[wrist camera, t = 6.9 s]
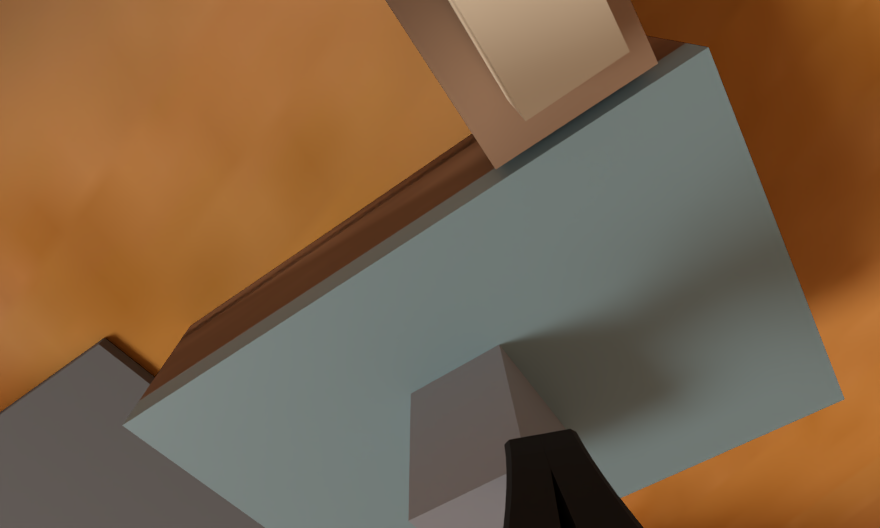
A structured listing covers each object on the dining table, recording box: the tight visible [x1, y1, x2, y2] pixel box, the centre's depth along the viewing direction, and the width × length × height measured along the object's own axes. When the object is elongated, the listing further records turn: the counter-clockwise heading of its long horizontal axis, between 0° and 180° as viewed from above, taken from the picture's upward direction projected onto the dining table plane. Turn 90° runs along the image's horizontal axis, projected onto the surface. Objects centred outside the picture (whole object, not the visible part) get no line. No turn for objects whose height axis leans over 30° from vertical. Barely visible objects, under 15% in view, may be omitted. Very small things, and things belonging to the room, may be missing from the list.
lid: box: [122, 43, 844, 528], centre depth 14 cm, size 12×18×5 cm, turn 124°
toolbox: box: [139, 0, 685, 401], centre depth 15 cm, size 21×18×5 cm
